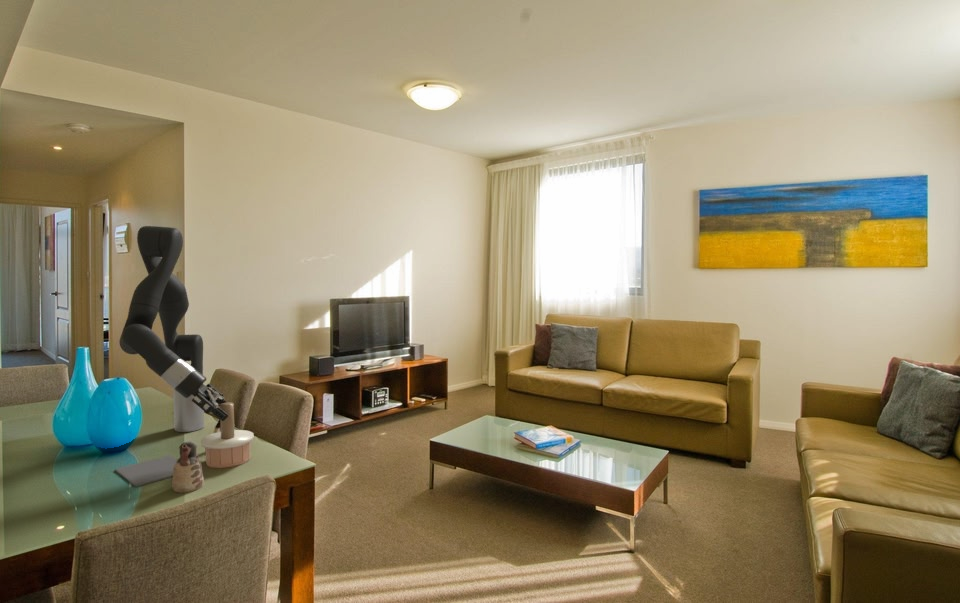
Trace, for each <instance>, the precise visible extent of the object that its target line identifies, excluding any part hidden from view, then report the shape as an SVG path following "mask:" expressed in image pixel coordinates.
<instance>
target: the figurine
mask: <svg viewBox="0 0 960 603" xmlns="http://www.w3.org/2000/svg"><path fill="white" fill-rule="evenodd" d="M197 447H198V445H197V444H195V443H194V442H192V441H184V442H182V443H181V444H180V445H179V447H178V448H179V459H177V461H176V463H175V465H174V469H173V477H172V481H171V485H172V487H171V488H172V490H173V491H174V493H181V494H182V493H183V494H184V493H190V492H195V491H197V490H200V489H202V488H203V487H204V484H205V478H204V475H203V468H202V466H203V465H202V463H201V460H200V459H198V458H199V455H198V454H197Z"/></svg>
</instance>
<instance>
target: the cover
mask: <svg viewBox="0 0 960 603" xmlns="http://www.w3.org/2000/svg"><path fill="white" fill-rule="evenodd" d="M219 405H220V406H219V407H220V408H221V409H222V410H223V411H224V412H226V413H227V414H228V417H227V418H226V419H225V420H224V421H221V420H220V419H219V420H220V423H221V432H220V431H217V433H210V434H208V435H206V436H204V437H202V438H201V439H200V446H201V447H203V448H204V449H205V448H208V449H226V448H233V447H237V446H241V445H244V444H247V443H249V442H250V443H251V442H253V440H254V437H255V436H254V434H255V433H254V432H253V431H250V430H245V429H235V426H234V424H235V411H234V409H235V404H234V402H228V401H227V403H222V404H219Z"/></svg>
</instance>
